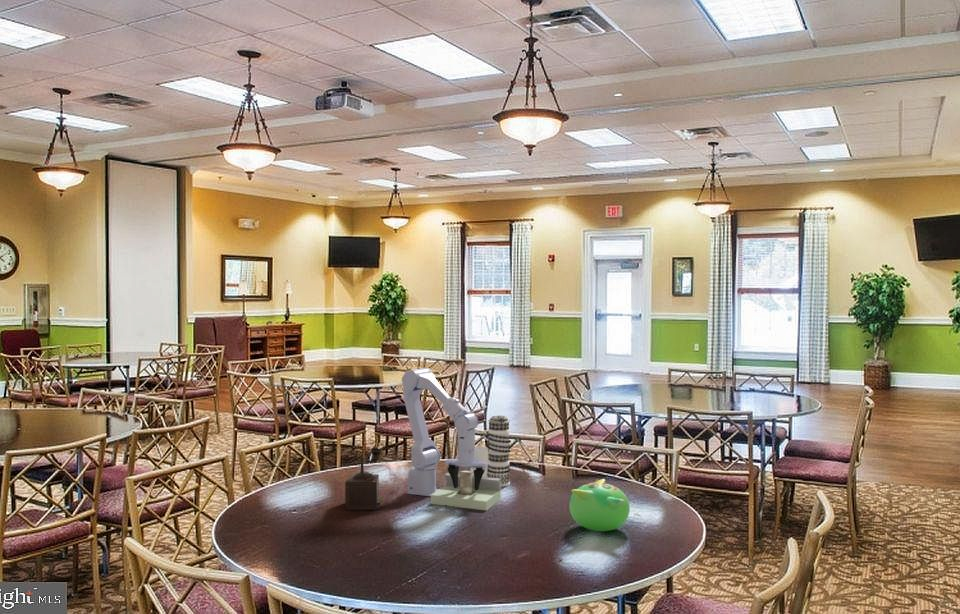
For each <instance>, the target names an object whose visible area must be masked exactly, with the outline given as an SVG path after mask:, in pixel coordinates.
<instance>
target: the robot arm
mask: <svg viewBox="0 0 960 614" xmlns="http://www.w3.org/2000/svg"><path fill="white" fill-rule="evenodd" d="M401 381H402V397H403V400H404V405H405V409H406V413H407V417H408V421H409V425H410V429H411V434H412V437H413V442H414V444H413V445H412V447H411V449H410V451H411V456H410V457H411V459H410V460H411V464H412V466H411V467H410V469H409V471H408V475H407V480H408V481H407V493H406V494H408V495H413V496H414V495H417V496H424V497H431V495H432V494H433V493H435V492H436V491H438V490H439V489H440V488H437V467H438V464H439V462H440V461H441V452H440V451H439V449H438V448H437V445H436V443H435V441H434V440H432V439H431V438H430V435H429V430H428V426H427V422H426V419H425V414H424V411H423V406H422V402H421V399H420V395H421V394H422V392H423V390H427V391H428V392H430V393H431V394H432V395H433V396H434V397H435V398H436V399H437V400H438V401H440V402H441V404H442V410H443V411H444V412H445V413H446V415H448V416H449V418H450V419H452V421H454V423H453V425H454V427H455V429H456V431H457V432H456V433H457V459H455V458H454V459H451V458H449V459H448V458H447V459H446V460H445V466H446V467H447V468H446V470H447V473H449V474H450V476H451V478H452V482H453V486H454V488H457V487H458V474H459V473H460V471H459V470H460V468H469V469H470V468H476V469H475V470H474V478H475V487H474V488H475V490H478V489H479V484H480V481H481V478H482V475H483V473H484V471H485V470H486V469H487V463H483V462H479V461H475V446H476V428H478V424H479V418H478V417H477V415H476V413H475V412H473V411H469V410H468V409H467V408H465V407H464V405H463V404H462V403H461V402H460V399H459V398H457V397H451V396H450V395H449V393H447V392H446V390H445V389H444V387H442V386H441V384H440V383H439V381H438V380H437V379H436V376H435V374H434V373H433V372H432V371H431V369H430V368H428V367H421V368H416V369H407V370H406V371H405V372H404V374H403V375H402V377H401Z"/></svg>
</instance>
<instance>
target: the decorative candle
mask: <svg viewBox="0 0 960 614" xmlns="http://www.w3.org/2000/svg"><path fill="white" fill-rule="evenodd" d="M487 429H488V430H487V431H486V439H487V441H486V443H487V445H486V447H487V448H488V454H489V457H488V470H487V477H489V478H499V479H501V488H502V487H507V486H509V485H511V482H510V481H511V479H510V477H511V474H510V471H511V469H510V467H511V465H510V459H509V458H510V453H511V451H512V450H511V447H512V446H511V445H510V443H512V441H511V440H510V439H511V438H512V436H511V435H510V420H509V419H508V417H507V416H505V415H493V416H491V417H490V419H489V420H488V428H487Z"/></svg>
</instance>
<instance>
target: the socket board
mask: <svg viewBox="0 0 960 614" xmlns="http://www.w3.org/2000/svg"><path fill="white" fill-rule="evenodd" d="M444 478H446V479H445V481H446V482H445V485H444V486H443V487H440V488H438V489H439V490H438V491H436V492H435V493H433V494H432V495H431V496H430V504H432V505H438V506H439V505H440V506H445V505H447V506H448V507H453V506H454V507H455V508H463V509H472V510H479V511H488V510H489V509H490V508H491V507H492V506H494V505H495V504H496V503H498V502H499V501H500V500H501V491H502V489H501V488H502V487H501V479H499V478H489V477H488V476H487V477H482V478H481V481H480V484H479V489H478V490H475V488H474V487H475V478H474V476H472V495H471V496H470V495H461V494H460V474H459V473H458V487H457V488H454V486H453V482H452V478H451V476H450V474H449V472H447V473H445V474H444ZM447 506H446V507H447Z"/></svg>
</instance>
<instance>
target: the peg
mask: <svg viewBox="0 0 960 614" xmlns="http://www.w3.org/2000/svg"><path fill="white" fill-rule="evenodd" d="M459 473H460V494H461V495H470V496H471V495H472V472H471V470H461V471H459Z"/></svg>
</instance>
